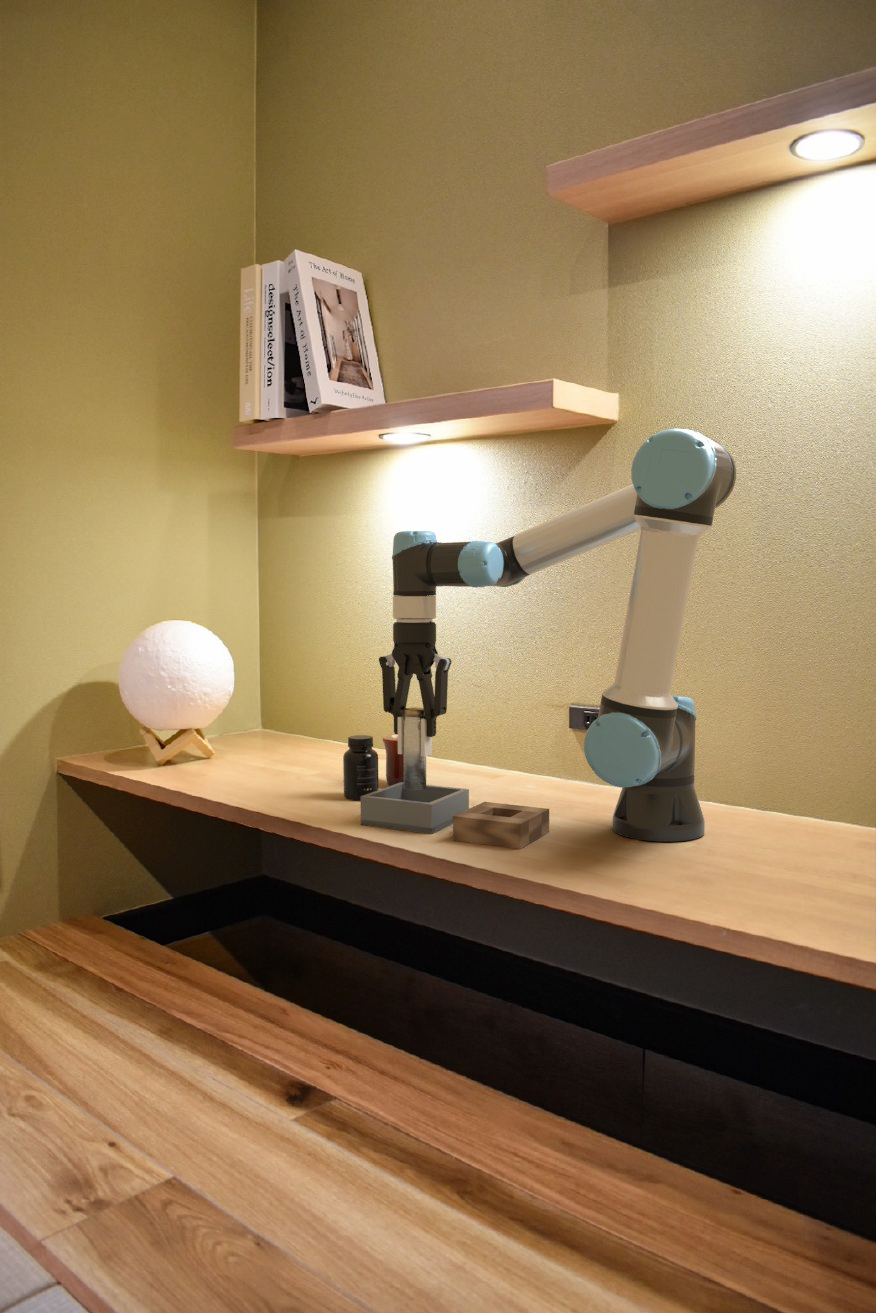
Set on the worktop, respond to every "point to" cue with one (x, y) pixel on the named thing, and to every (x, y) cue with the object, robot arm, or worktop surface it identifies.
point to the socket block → (501, 824)
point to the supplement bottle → (360, 767)
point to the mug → (393, 760)
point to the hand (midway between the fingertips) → (414, 753)
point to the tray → (413, 807)
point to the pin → (413, 750)
